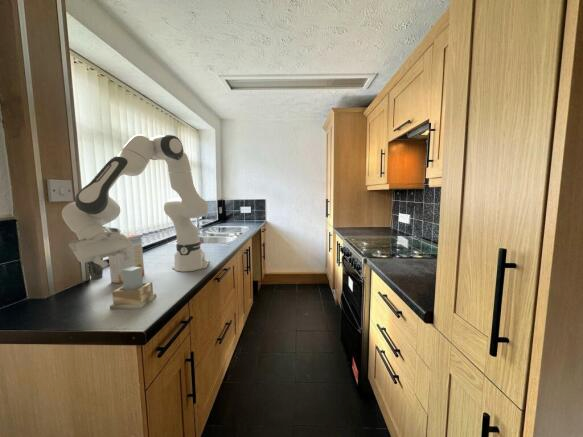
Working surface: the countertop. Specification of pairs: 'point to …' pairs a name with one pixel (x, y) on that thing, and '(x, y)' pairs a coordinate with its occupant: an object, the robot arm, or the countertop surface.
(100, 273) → the beverage cup
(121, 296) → the cup collar
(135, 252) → the cracker box
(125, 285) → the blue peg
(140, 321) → the countertop surface
